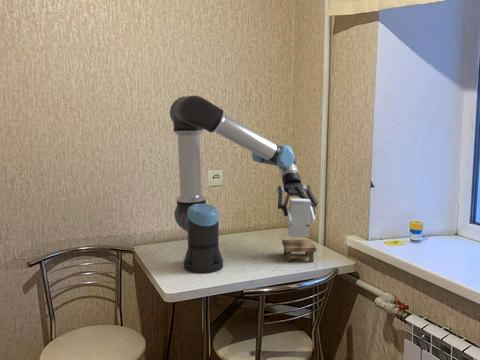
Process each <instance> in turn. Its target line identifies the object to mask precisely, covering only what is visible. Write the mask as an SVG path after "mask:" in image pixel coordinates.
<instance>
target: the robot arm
mask: <svg viewBox="0 0 480 360" xmlns="http://www.w3.org/2000/svg"><path fill="white" fill-rule="evenodd" d="M169 116H170V119H171V121H172V127H173V133H174V134H175V135H176V136H177V148H178V149H177V150H178V151H177V152H178V153H177V154H178V173H179V174H178V175H179V176H178V177H179V196H178V197H177V198H176V207H175V209H174V220H175V222H176V223H177V225H178V227H179V228H181V229H182V230H184V231H185V232H186V233H187V250H186V253H185V255H184V258H183V268H184V269H183V270H186V271H188V272H189V273H190V272H191V273H195V274H209V273H214V272H219V271H221V270H222V268H224V258H223V256H222V253H221V250H220V247H219V245H220V244H219V239H220V236H219V233H220V232H219V231H220V230H219V229H220V228H219V226H220V225H219V223H220V221H219V219H220V216H219V210H218V208H217V207H216V206H214V205H213V204H208V203H206V197H205V196H204V195H203V193H202V170H201V169H202V167H201V141H200V135H201V134H202V133H203V132H204V130H205V131H207V132H208V133H216V134H218V135H220V136H222V137H223V138H225V139H227V140H228V141H230V142H233V143H235V144H237V145H238V146H240V147H242V148H244V149H246V150H248V151H249V152H251V157H252V160H253V161H254V162H256V163H259V164H260V163H261V164H265V165H271V166H275V167H278V169H279V171H280V172H279V173H280V176H281V182H282V186H280V185H278V187H277V190H276V192H277V193H278V196H277V209H278V210H280V209H281V211H282V212H283V216H284V217H286V219H287V224H288V225H289V224H291V221H292V219H291V215H290V211H289V208H290V206H287V205H288V203H289V201H290V197H294V196H295V197H298V198H300V199H310V201H311V207H310V222H311V223H312V224H314V223H315V221H316V216H315V215H316V212H317V211H316V209H315V208H317V207H318V204H319V203H318V201H317V199H316V198H315V196H314V194H313V192H312V191H311V186H310V185H309V184H308V185H303V184H302V180H301V177H300V173H299V170H298V166H297V162H296V158H295V153H294V152H293V149H292V147H291V146H290V145H288V144H284V145H283V144H282V145H279V144H277V143H275V142H273V141H272V140H270V139H268V138H267V137H265V136H264V135H262V134H260V133H258V132H257V131H255V130H253V129H251V128H249V127H248V126H246V125H245V124H243V123H241V122H240V121H237V120H235V119H234V118H232V117H230V116H229V115H227V114H225V111H224V110H223V109H222V108H221V107H218V106H217V105H215V104H214V103H212V102H211V101H209V100H207V99H206V98H204V97H202V96H199V95H188V96H185V95H184V96H180V97H178V98H177V99H175V101H173V102H172V103H171V106H170V108H169ZM283 192H285V193H286V197H285V200H284V202H283Z"/></svg>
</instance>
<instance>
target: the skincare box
mask: <svg viewBox="0 0 480 360" xmlns="http://www.w3.org/2000/svg"><path fill="white" fill-rule="evenodd" d="M310 207H311V201H310V199H301V198H300V197H298V198H297V197H295V198H294V197H292V198H290V197H289V211H290V215H291V219H292V221H291V224H288V232H287V233H288V237H289V238H309V237H310V226H311V225H310V224H311V223H310V222H311V218H310Z"/></svg>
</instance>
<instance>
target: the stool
mask: <svg viewBox="0 0 480 360" xmlns="http://www.w3.org/2000/svg"><path fill="white" fill-rule="evenodd" d="M281 244H282V246H283V255H284V256H286V263H291V262H292V259H308V262H309V263H315V262H314V261H315V259H314V258H315V257H314V255H315V253H317V247H316V245H315V244H314V242H313V241H312V240H311V239H281ZM296 252H297V253H304V254H295V255H294V254H292V253H296Z"/></svg>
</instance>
